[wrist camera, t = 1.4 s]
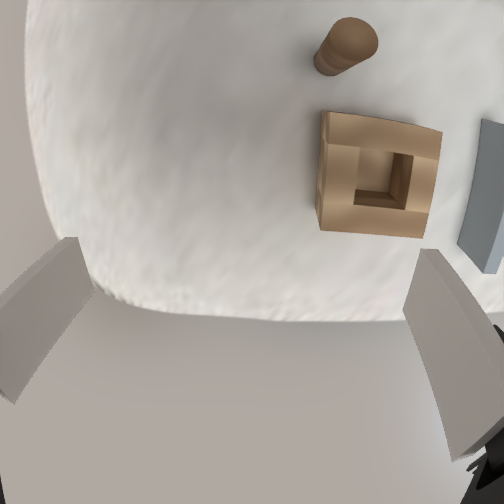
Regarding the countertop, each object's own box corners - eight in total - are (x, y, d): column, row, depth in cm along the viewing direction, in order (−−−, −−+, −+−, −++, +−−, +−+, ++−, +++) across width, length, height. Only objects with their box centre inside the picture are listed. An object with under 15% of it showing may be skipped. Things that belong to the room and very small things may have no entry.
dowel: (313, 47, 19) (330, 14, 11) (344, 50, 19) (377, 22, 10) (313, 74, 21) (330, 56, 12) (343, 77, 20) (378, 64, 12)
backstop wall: (481, 119, 19) (518, 128, 14) (512, 131, 19) (547, 143, 14) (457, 244, 26) (482, 273, 21) (486, 247, 26) (513, 274, 20)
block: (321, 110, 22) (330, 112, 18) (417, 125, 21) (442, 132, 17) (315, 208, 26) (320, 230, 22) (403, 216, 26) (422, 238, 21)
